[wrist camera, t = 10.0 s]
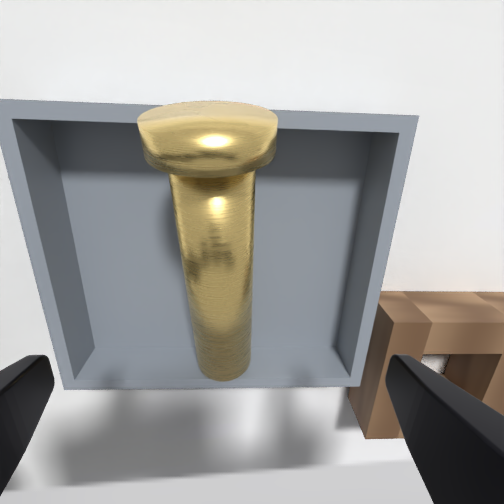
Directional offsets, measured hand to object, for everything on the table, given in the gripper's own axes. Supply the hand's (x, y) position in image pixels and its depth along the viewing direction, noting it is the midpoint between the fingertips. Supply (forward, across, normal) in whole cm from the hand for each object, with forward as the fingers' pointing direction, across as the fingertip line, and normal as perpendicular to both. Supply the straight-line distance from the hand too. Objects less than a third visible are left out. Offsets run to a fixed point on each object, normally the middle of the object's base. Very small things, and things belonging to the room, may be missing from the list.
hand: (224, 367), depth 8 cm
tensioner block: (+9, -12, +6) cm, 16 cm away
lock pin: (+7, 0, +5) cm, 9 cm away
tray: (+9, +1, 0) cm, 9 cm away
